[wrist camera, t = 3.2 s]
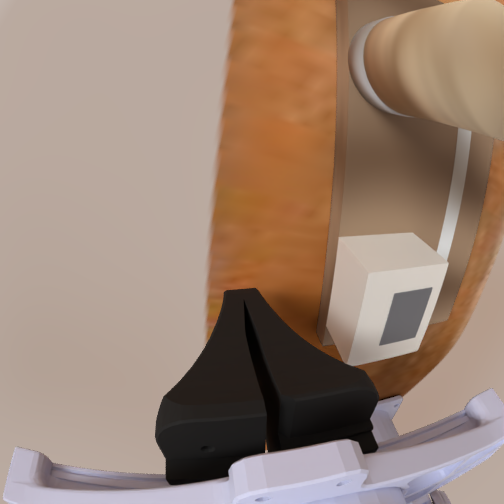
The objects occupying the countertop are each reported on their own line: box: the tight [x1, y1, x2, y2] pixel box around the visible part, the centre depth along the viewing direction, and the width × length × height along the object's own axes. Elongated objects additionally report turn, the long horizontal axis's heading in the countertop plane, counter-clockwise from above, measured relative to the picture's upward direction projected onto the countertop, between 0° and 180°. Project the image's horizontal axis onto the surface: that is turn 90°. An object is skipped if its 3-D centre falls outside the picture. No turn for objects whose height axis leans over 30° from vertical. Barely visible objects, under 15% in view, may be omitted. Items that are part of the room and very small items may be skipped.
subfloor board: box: [316, 0, 494, 346], centre depth 13 cm, size 18×9×1 cm, turn 1°
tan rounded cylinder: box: [348, 0, 504, 141], centre depth 8 cm, size 4×4×6 cm
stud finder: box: [326, 232, 449, 366], centre depth 14 cm, size 5×4×3 cm
